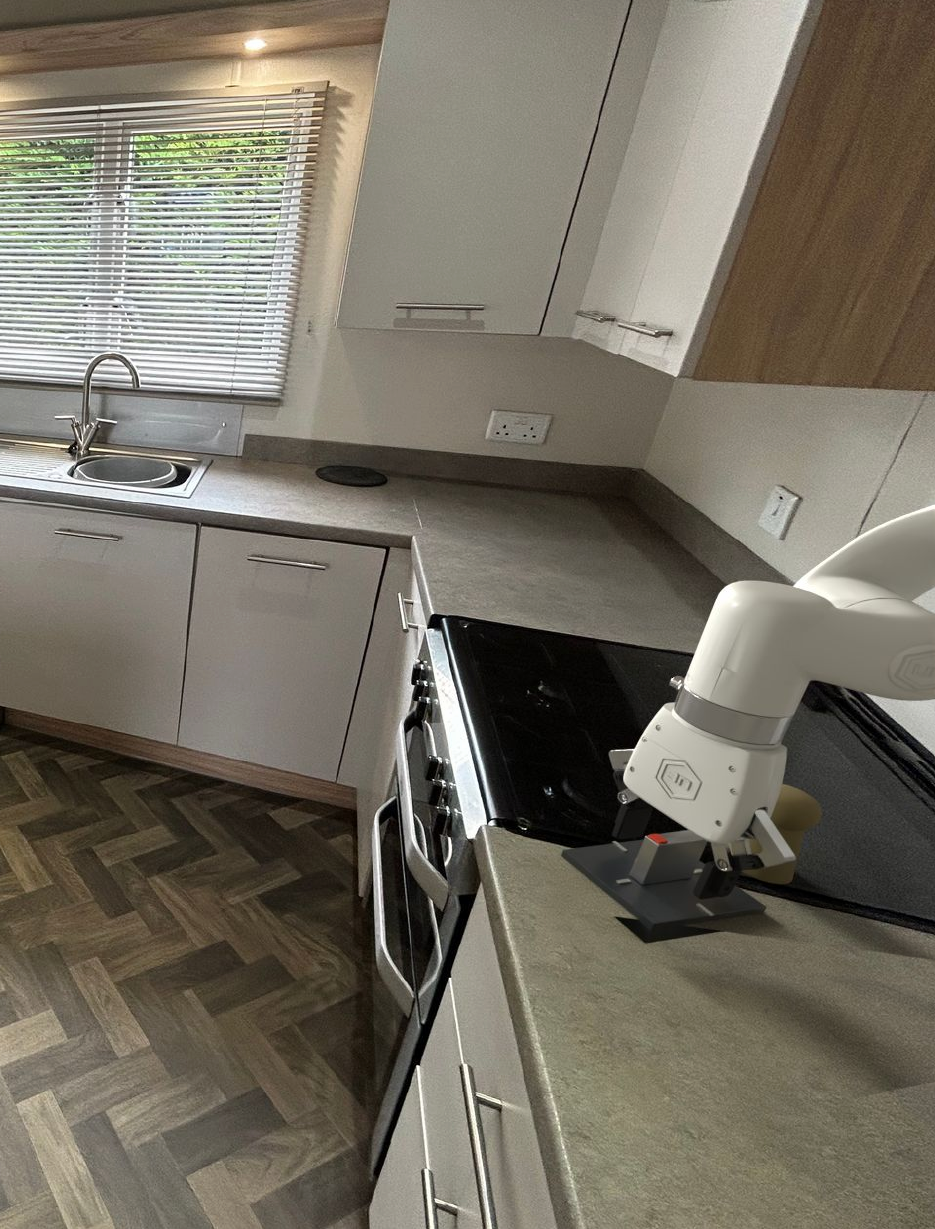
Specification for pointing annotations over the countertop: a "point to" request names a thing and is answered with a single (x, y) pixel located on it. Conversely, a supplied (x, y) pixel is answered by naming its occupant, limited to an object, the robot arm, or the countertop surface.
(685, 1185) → the countertop surface
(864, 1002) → the countertop surface
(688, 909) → the plate
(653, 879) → the tap handle
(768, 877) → the cork
